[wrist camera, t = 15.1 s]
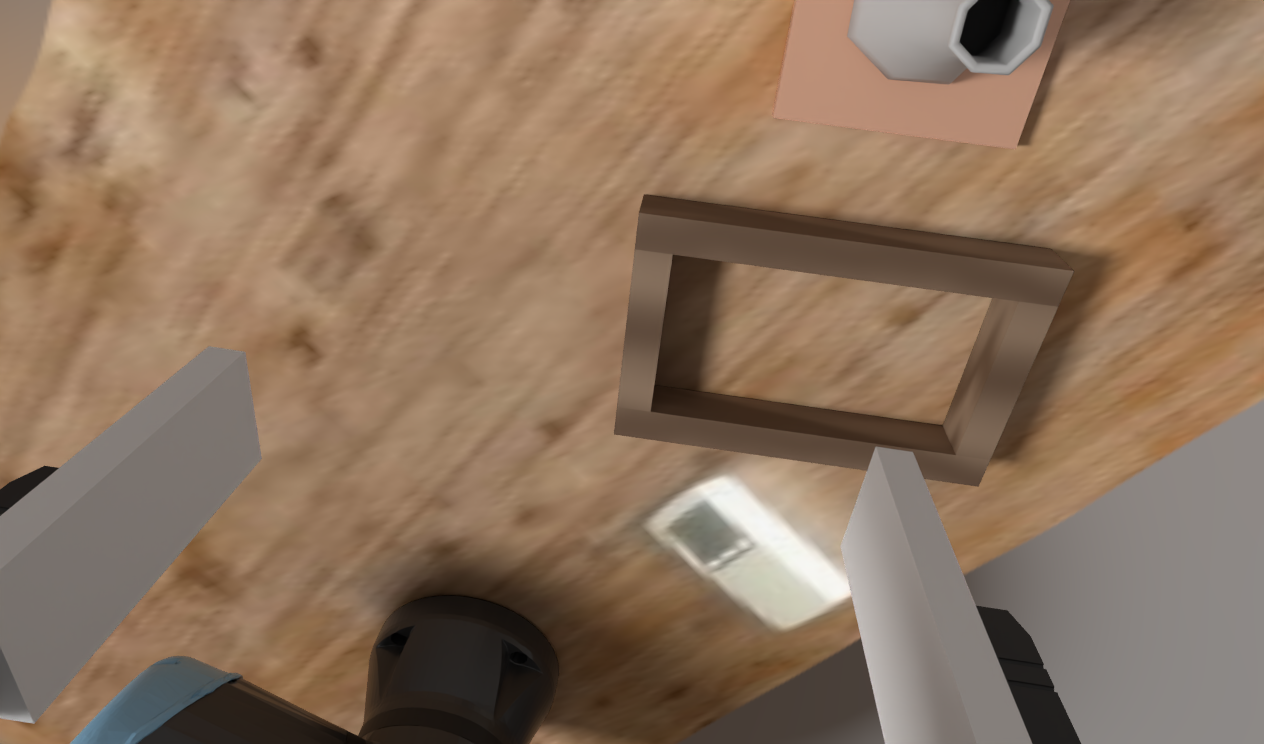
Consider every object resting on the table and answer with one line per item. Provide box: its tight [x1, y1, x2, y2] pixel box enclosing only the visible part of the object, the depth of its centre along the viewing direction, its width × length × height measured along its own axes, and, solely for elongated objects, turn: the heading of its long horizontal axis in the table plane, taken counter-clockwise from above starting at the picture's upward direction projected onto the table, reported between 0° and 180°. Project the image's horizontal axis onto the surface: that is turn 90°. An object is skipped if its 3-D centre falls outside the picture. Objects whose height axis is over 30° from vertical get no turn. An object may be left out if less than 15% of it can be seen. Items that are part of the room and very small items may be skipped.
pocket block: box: [614, 195, 1074, 486], centre depth 43 cm, size 14×22×3 cm, turn 84°
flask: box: [847, 0, 1054, 85], centre depth 30 cm, size 7×7×10 cm
